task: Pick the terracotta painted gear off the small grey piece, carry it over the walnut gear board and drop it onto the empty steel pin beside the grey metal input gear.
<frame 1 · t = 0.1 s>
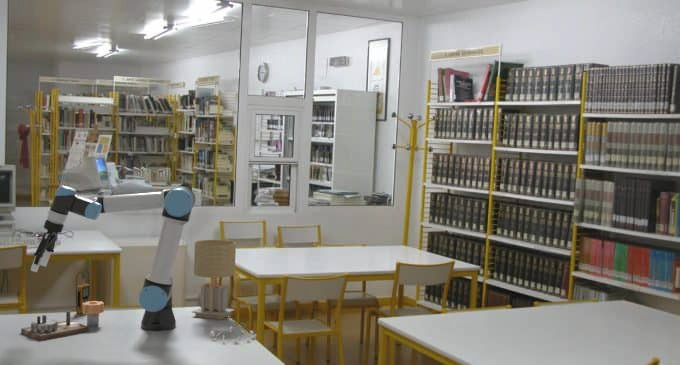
hand: (38, 268, 318), 28 cm above the table, tool tilted 20°, fingers open, 13 cm apart
desk lamp: (213, 315, 362), on the table
loose gear: (93, 311, 335), point 6 cm above the table, touching grey piece
grey piece: (92, 325, 336), on the table
gear board: (55, 332, 322), on the table
multimeter: (89, 313, 359), on the table
game piece set: (233, 339, 322), on the table
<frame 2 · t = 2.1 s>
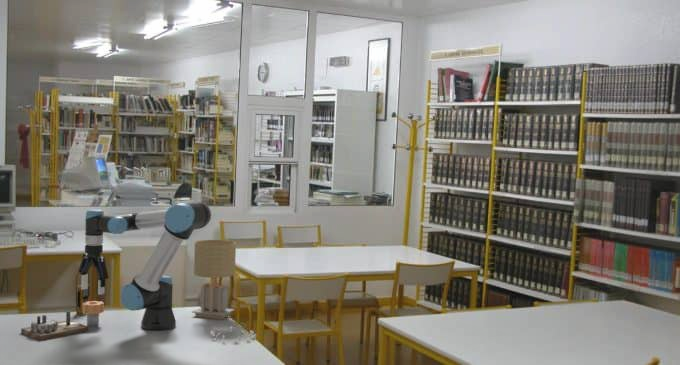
hand: (92, 291, 335), 15 cm above the table, tool pointing down, fingers open, 13 cm apart
nothing on the table moved.
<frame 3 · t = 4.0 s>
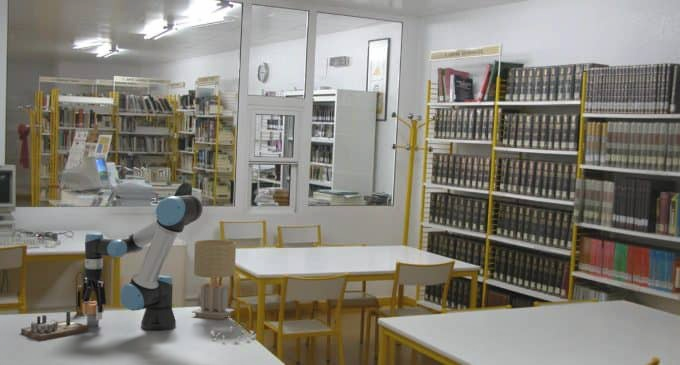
hand: (92, 317, 336), 3 cm above the table, tool pointing down, fingers closed on loose gear, 9 cm apart
loose gear: (93, 311, 335), point 6 cm above the table, touching grey piece, gripper
everything else where it was.
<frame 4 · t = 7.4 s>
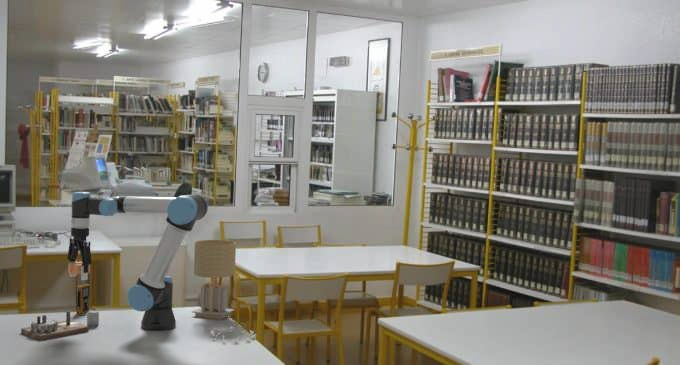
hand: (78, 278, 330), 22 cm above the table, tool pointing down, fingers closed on loose gear, 9 cm apart
loose gear: (78, 272, 329), point 25 cm above the table, touching gripper
everything else where it was.
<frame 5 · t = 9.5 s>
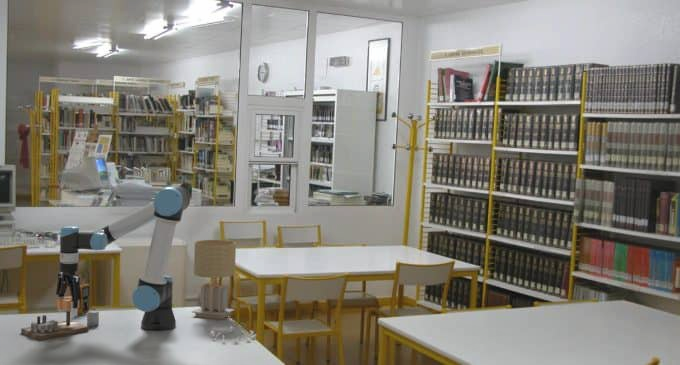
hand: (68, 313, 326), 7 cm above the table, tool pointing down, fingers closed on loose gear, 9 cm apart
loose gear: (68, 307, 326), point 10 cm above the table, touching gripper
everything else where it was.
when the fingers open (4 cm above the table, at t = 11.1 s): loose gear drops 5 cm, resting on gear board.
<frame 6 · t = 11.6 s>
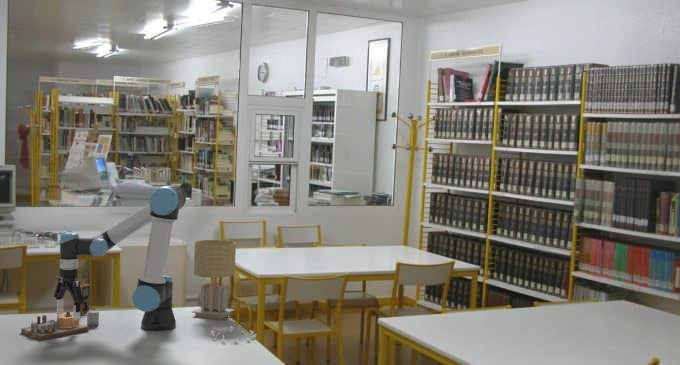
hand: (68, 316, 326), 6 cm above the table, tool pointing down, fingers open, 13 cm apart
loose gear: (68, 325, 326), point 2 cm above the table, touching gear board
everything else where it was.
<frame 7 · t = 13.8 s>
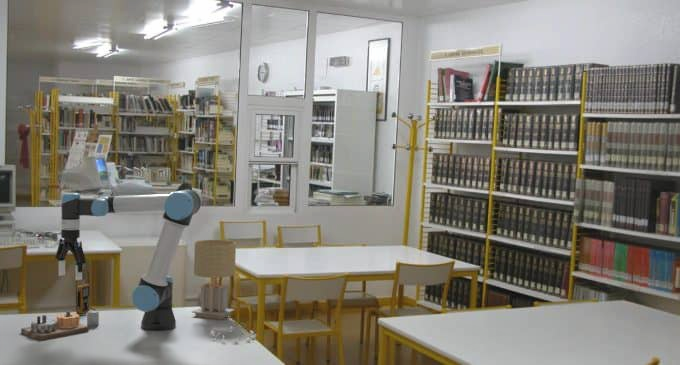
hand: (70, 277, 326), 23 cm above the table, tool pointing down, fingers open, 13 cm apart
nothing on the table moved.
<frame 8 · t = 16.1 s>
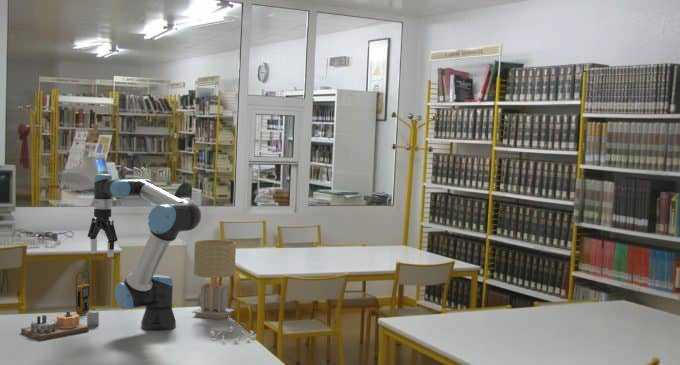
hand: (102, 255, 341), 31 cm above the table, tool pointing down, fingers open, 13 cm apart
nothing on the table moved.
at the end: loose gear 0.0 cm from the target spot on the gear board, point 2.1 cm above the gear board's base; loose gear tilted 0°; the gripper is holding nothing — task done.
